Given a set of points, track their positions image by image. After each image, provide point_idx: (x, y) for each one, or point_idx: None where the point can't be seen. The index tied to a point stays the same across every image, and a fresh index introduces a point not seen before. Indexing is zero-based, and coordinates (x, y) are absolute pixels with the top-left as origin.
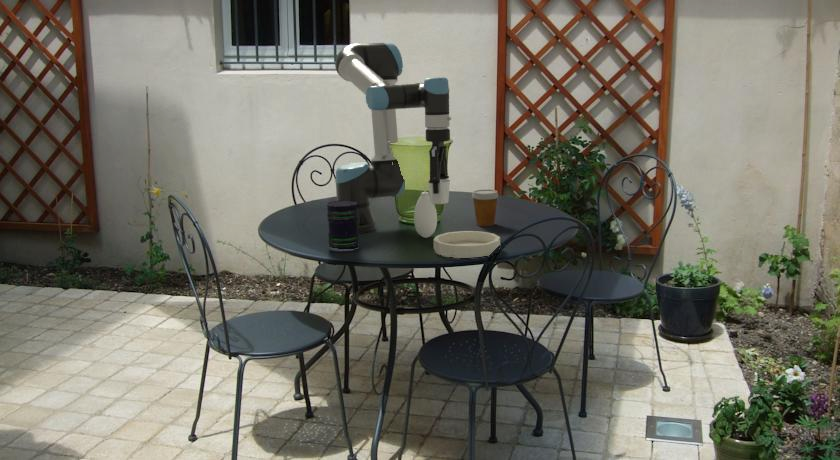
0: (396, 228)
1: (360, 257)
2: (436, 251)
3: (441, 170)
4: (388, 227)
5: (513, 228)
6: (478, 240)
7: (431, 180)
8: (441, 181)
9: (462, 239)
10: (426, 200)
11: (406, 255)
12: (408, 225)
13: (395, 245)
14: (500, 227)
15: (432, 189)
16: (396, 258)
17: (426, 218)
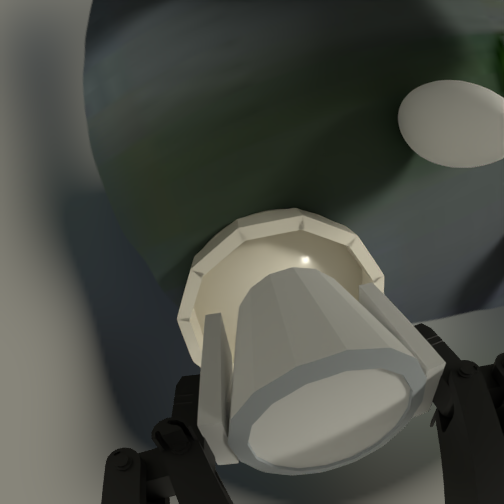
0: (462, 26)
1: (99, 40)
2: (214, 237)
3: (453, 456)
4: (461, 7)
5: (489, 304)
6: None
7: (113, 467)
8: (291, 454)
9: (360, 266)
10: (487, 138)
11: (161, 152)
12: (492, 54)
13: (281, 58)
14: (498, 277)
15: (201, 385)
16: (117, 142)
17: (425, 137)
